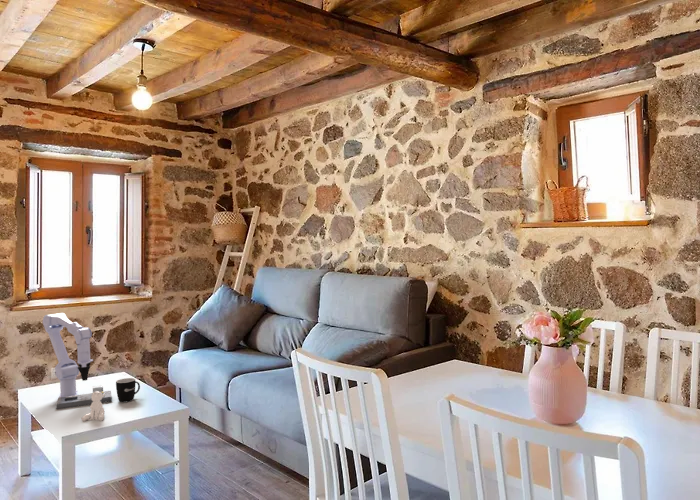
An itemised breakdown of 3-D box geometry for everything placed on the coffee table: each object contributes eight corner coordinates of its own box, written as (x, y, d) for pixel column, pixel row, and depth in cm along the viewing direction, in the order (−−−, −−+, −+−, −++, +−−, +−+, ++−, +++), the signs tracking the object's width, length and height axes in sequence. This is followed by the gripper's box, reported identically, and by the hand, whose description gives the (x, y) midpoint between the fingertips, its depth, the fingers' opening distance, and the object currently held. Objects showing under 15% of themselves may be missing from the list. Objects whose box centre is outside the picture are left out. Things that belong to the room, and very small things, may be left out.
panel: (58, 402, 263) (58, 397, 263) (111, 395, 273) (110, 390, 273) (56, 409, 252) (56, 403, 252) (111, 401, 262) (111, 396, 262)
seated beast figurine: (80, 421, 233) (79, 394, 233) (90, 415, 242) (89, 389, 242) (102, 421, 233) (101, 394, 233) (110, 414, 242) (110, 388, 242)
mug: (122, 404, 257) (122, 383, 257) (112, 401, 263) (112, 381, 263) (145, 398, 267) (144, 378, 267) (135, 395, 272) (134, 375, 272)
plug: (93, 400, 266) (92, 386, 266) (103, 398, 268) (102, 384, 268) (93, 402, 262) (92, 388, 262) (103, 400, 264) (103, 386, 264)
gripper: (92, 353, 263) (93, 380, 263) (92, 348, 276) (93, 374, 276) (76, 355, 259) (77, 382, 260) (77, 350, 273) (78, 376, 273)
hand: (85, 378), depth 267 cm, fingers open, 7 cm apart
